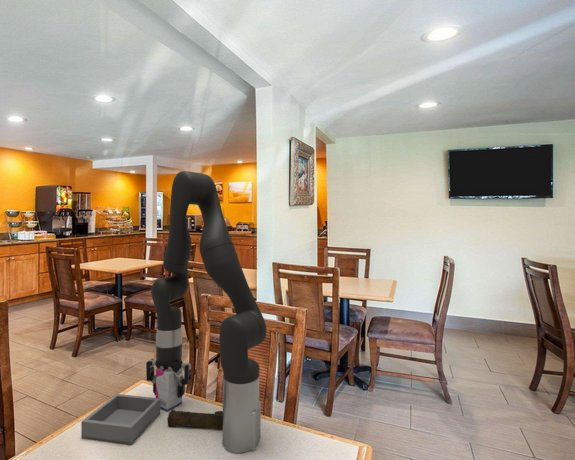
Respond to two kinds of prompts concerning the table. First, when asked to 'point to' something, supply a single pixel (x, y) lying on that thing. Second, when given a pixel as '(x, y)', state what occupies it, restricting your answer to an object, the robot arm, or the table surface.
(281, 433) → the table surface
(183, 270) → the robot arm
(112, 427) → the bin
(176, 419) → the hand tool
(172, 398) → the supplement box
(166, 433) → the table surface
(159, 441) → the table surface
